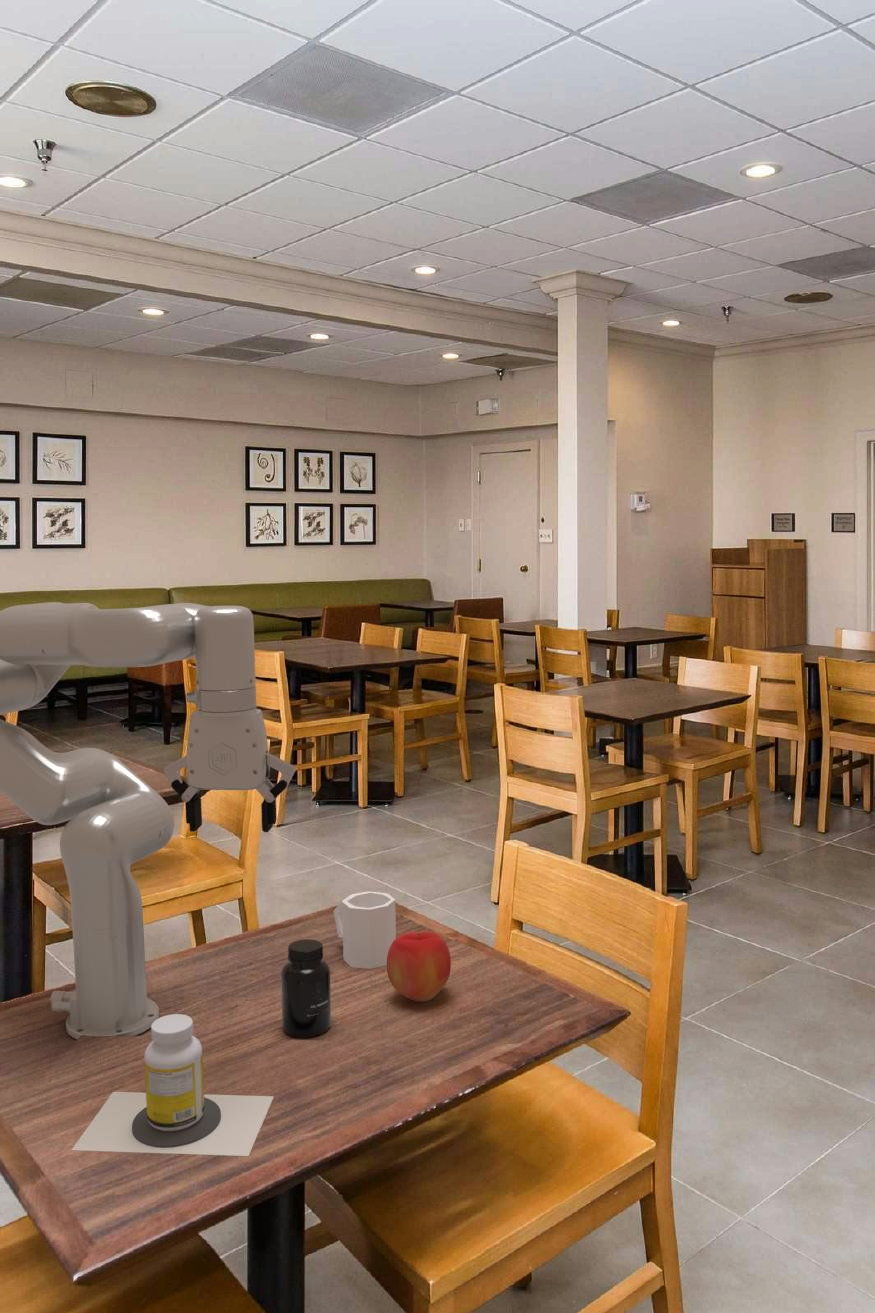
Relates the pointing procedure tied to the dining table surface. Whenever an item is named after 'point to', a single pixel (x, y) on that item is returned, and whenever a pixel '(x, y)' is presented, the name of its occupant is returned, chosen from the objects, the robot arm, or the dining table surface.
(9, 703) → the robot arm
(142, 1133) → the pad
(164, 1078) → the pill bottle
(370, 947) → the mug
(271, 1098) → the board
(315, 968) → the supplement bottle
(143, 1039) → the dining table surface
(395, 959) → the apple
